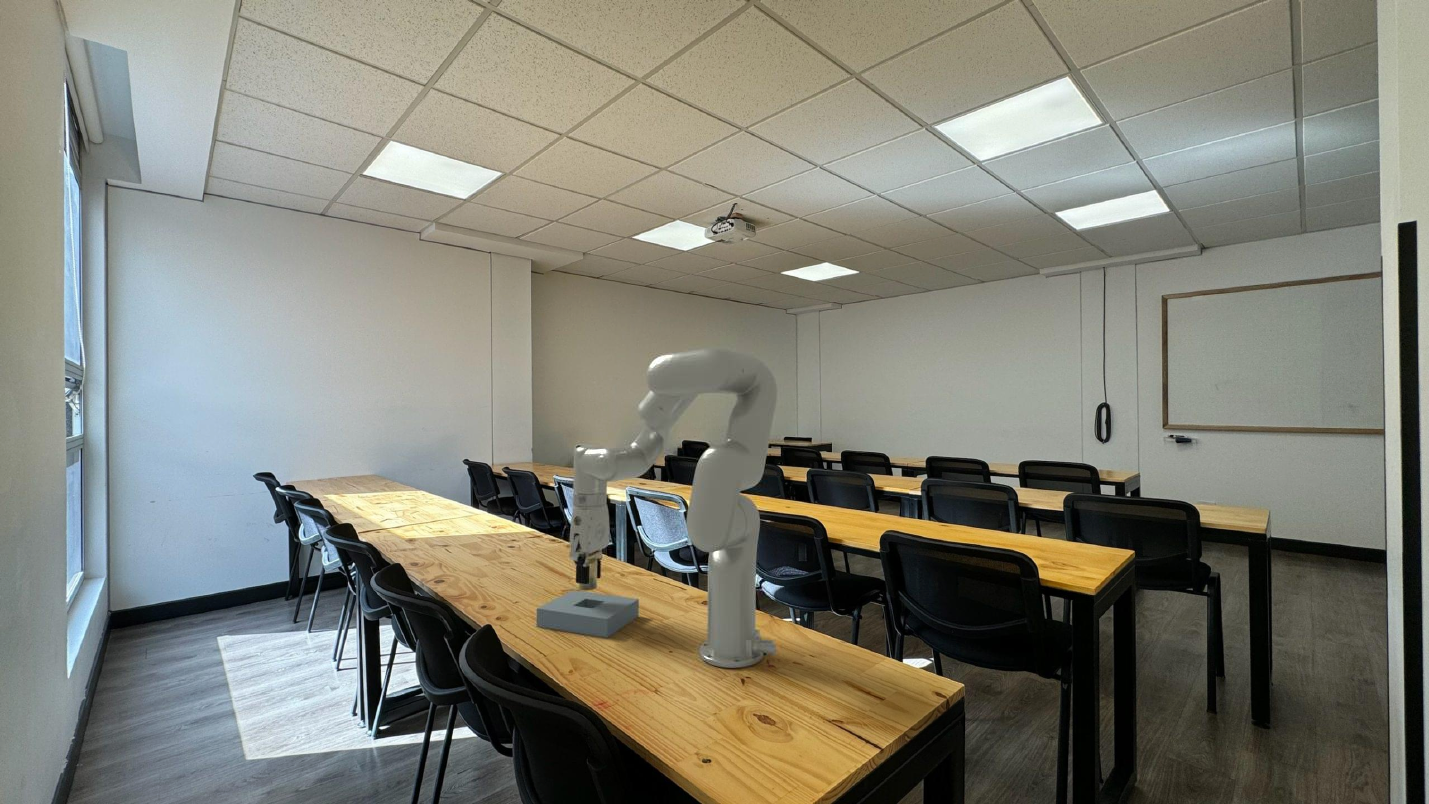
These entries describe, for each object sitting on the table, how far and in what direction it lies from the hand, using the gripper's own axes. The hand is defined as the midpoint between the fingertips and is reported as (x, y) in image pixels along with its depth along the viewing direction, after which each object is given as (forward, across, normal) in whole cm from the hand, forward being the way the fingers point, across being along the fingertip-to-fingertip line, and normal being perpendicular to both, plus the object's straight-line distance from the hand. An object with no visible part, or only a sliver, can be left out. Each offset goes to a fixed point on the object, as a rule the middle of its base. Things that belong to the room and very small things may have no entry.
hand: (588, 579), depth 131 cm
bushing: (+2, 0, 0) cm, 2 cm away
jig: (+9, 0, 0) cm, 9 cm away
